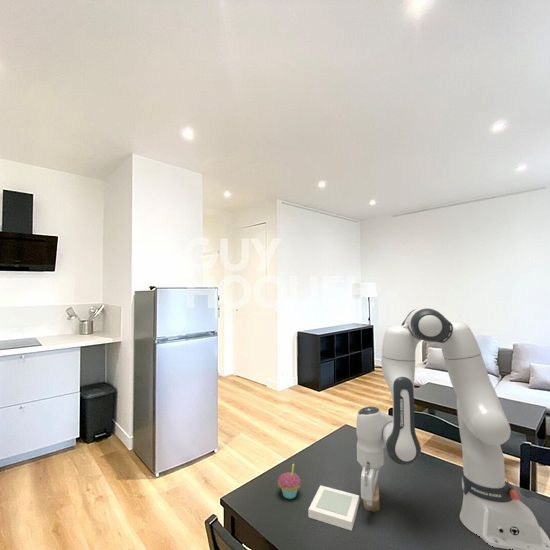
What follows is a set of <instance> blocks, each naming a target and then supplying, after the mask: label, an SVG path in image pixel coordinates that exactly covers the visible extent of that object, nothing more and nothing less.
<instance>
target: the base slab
mask: <svg viewBox="0 0 550 550" xmlns="http://www.w3.org/2000/svg"><path fill="white" fill-rule="evenodd" d="M359 506H360V495H358V494H355V493H351V492H348V491H344V490H339V489H336V488H334V487H328V486H324V485H321V484H320V485H319V487H318V489H317V491H316V494H315V495H314V497H313V499H312V501H311V504H310V506H309V507H308V516H307V517H308V518H310V519H313V520H317V521H319V522H323V523H326V524H329V525H333V526H335V527H339V528H342V529H344V530H347V531H353V527H354V525H355V521H356V517H357V513H358V509H359Z"/></svg>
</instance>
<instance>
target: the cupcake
mask: <svg viewBox="0 0 550 550" xmlns="http://www.w3.org/2000/svg"><path fill="white" fill-rule="evenodd" d="M294 469H295V462H293V463H292V467H291V471H290V472H289V471H288V472H287V471H285V472H283V473H281V474H280V475H279V477H278V479H277V486H278V488H279V489H281V492H282V496H283V497H284V498H285V499H288V500H291V499H294V498H296V497H297V493H298V491H299V489H300V487H301V485H302V479H301V478H300V476H299V475H298V474H297V473H294Z"/></svg>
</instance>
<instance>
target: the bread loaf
mask: <svg viewBox="0 0 550 550" xmlns="http://www.w3.org/2000/svg"><path fill="white" fill-rule="evenodd" d="M362 500H363V505H362V506H363V508H364V509H365V510H366V511H368V512H372V513H373V512H378V511H379V510H380V487H379V484H378V483H377V482H376V487H375V491H374V496H373V504H372V506H370V505H367V500H364V499H362Z"/></svg>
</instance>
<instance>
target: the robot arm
mask: <svg viewBox="0 0 550 550" xmlns="http://www.w3.org/2000/svg"><path fill="white" fill-rule="evenodd" d="M421 341H424V342H429V343H430V342H431V343H437V344H438V345H439V348H440V350H441V354H442V357H443V360H444V363H445V367H446V370H447V372H448V377H449V380H450V382H451V386H452V388H453V390H454V393H455V396H456V413H457V419H458V420H457V421H458V427H459V428H458V429H459V436H460V442H461V448H462V449H461V450H462V469H463V470H462V472H461V488H462V492H463V494H462V495H463V498H462V505H461V509H460V512H459V519H460V521H461V523H462V524H463V525H464V527H466V529H468V530H469V531H470V532H471V533H473V534H475V535H476V534H477V535H476V536H478V537H479V536H480V537H479V538H480V539H482V540H483V541H484V543H486V544H487V543H488V545H489V546H490V547H492V546H493V547H494V548H499V549H505V550H509V549H511V550H512V549H513V550H550V538H549V536H548V535H547V533H546V532H545V530H544V529H543V528H542V527H541V525H539V522H538V520H537V518H536V516H535V515H534V513H533V512H532V510H531V509H530V508H529V507H528V506H527V505H525V504H524V503H523V502H522V501H521V500H520V496H519V494H518V492H517V491H516V490H514V486H512V484H510V482H509V480H508V479H507V480H506V475H505V474H506V473H505V457H504V453H503V451H502V450H503V449H502V447H501V446H502V445H503V444H505V443H506V442H507V441H508V440H509V439H510V437H511V431H512V430H511V426H510V423H509V421H508V418H507V417H506V414H505V412H504V409H503V406H502V404H501V401H500V399H499V396H498V395H497V392H496V390H495V387H494V385H493V383H492V382H491V379H490V376H489V373H488V370H487V366H486V364H485V362H484V357H483V355H482V352H481V349H480V346H479V343H478V341H477V338H476V337H475V335H474V333H473V331H472V329H471V327H470V326H469V325H468V324H466V323H465V322H461V321H449V320H448V319H447V318H446V317H445V316H444V315H443V313H441V312H439V311H438V310H436V309H433V308H429V307H419V308H418V307H417V308H416V309H413V310H411V311H410V312H409V313H408V314H407V315H406V317H405V319H404V320H403V322H402V323H401V325H392V326H390V327H388V328H386V330H385V333H384V336H383V339H382V346H381V347H382V348H381V369H382V375H383V377H384V378H383V379H384V381H385V382H386V384H387V386H388V389H389V391H390V395H391V398H392V415H389V414H387V413H386V412H383V411H382V410H381V409H379V408H378V407H375V406H366V407H363V408H361V409H359V410H358V412H357V416H356V426H355V428H356V437H357V443H356V460H357V462H358V463H359V465H360V466H361V468H362V470H361V474H360V497H361V499H362V500H363V499H364V500H367V505H370V506H372V504H373V496H374V491H375V487H376V483H377V481H378V476H379V471H380V468H382V467H383V466H384V448H386V452H387V454H388V456H389V458H390V459H391V461H392V462H394V463H395V464H398V465H401V466H410V465H412V464H416V462H418V460H419V458H420V457H421V454H422V447H421V444H420V440H419V439H418V437H417V434H416V428H415V427H416V425H415V424H416V423H415V422H416V419H415V396H414V394H415V393H414V392H415V373H416V350H417V347H418V344H419V343H420V342H421ZM493 547H492V548H493Z"/></svg>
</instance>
